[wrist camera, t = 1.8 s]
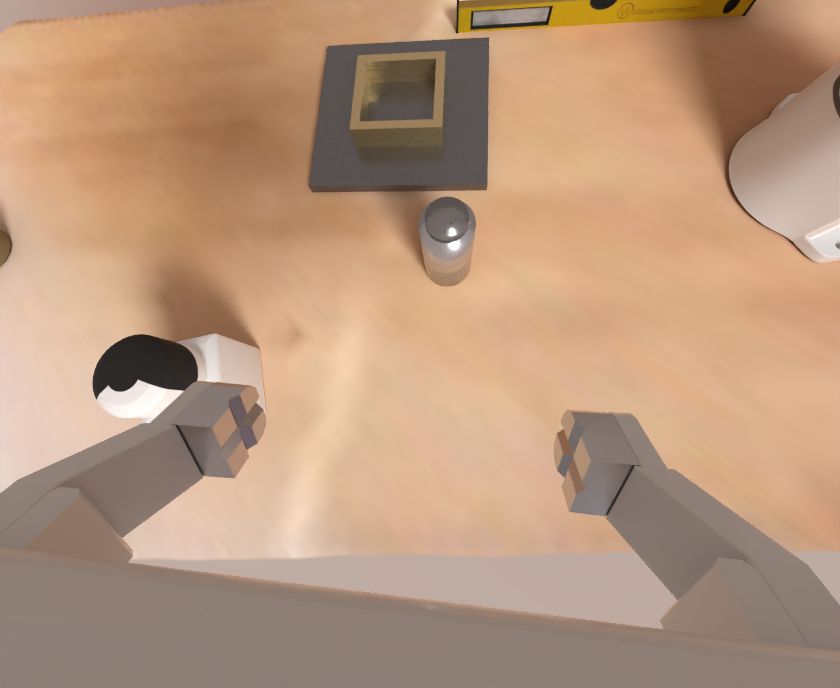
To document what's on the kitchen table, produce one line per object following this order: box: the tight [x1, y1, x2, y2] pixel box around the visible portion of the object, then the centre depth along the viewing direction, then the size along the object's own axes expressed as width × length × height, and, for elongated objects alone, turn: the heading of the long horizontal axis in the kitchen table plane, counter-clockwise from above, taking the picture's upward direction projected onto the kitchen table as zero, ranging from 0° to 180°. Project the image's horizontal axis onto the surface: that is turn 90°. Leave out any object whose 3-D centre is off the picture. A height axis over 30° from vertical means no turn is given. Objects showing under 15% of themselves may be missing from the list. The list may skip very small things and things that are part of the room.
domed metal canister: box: [418, 197, 476, 286], centre depth 32 cm, size 5×5×9 cm
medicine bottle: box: [93, 333, 266, 424], centre depth 29 cm, size 7×7×12 cm
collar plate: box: [309, 38, 489, 192], centre depth 39 cm, size 20×20×4 cm
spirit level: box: [456, 0, 756, 33], centre depth 40 cm, size 33×1×3 cm, turn 88°
